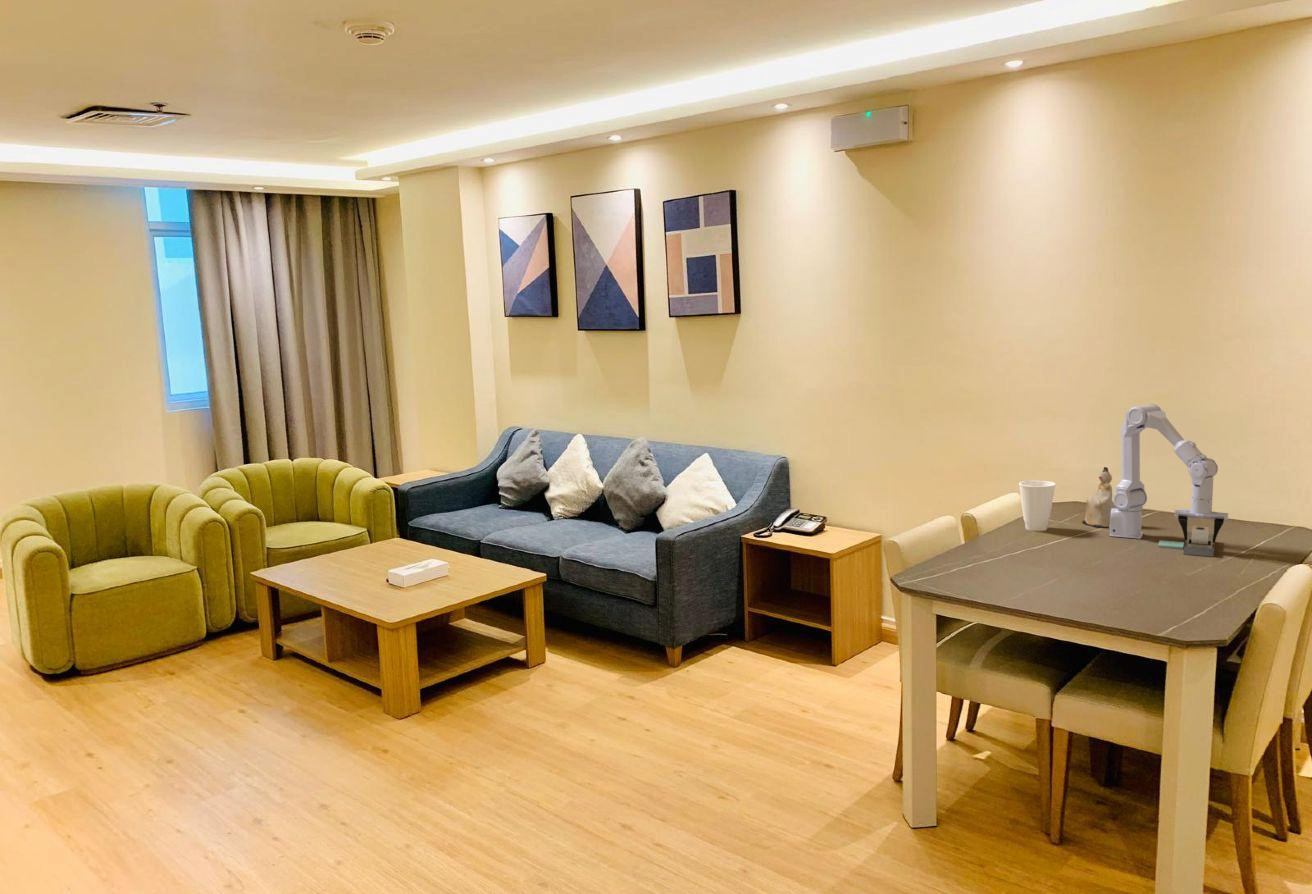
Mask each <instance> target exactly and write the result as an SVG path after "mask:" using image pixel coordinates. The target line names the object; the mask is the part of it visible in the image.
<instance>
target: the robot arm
mask: <svg viewBox="0 0 1312 894" xmlns="http://www.w3.org/2000/svg"><path fill="white" fill-rule="evenodd" d="M1124 416H1125V418H1124V420H1123V423H1122V424H1121V426H1120V427H1121V429H1120V430H1121V431H1120V439H1121V441H1120V444H1121V445H1120V447H1121V449H1120V450H1121V451H1120V453H1121V454H1120V455H1121V456H1120V460H1121V466H1120V467H1121V471H1120V473H1121V475H1120V476H1121V480H1120V482H1118V483H1117V485H1116V486H1115V493H1114V495H1113V497H1112V501H1113V503H1114V505H1115V507H1116V508H1112V509H1111V516H1110V528H1109V536H1110V537H1113V538H1114V537H1116V538H1130V539H1142V538H1143V535H1144V532H1143V531H1142V513H1143V512H1142V511H1143V509H1144V507H1143V506H1144V505H1146V503H1147V501H1148V496H1147V493H1146V492H1147V491H1146V489H1145V484H1144V483H1143V482H1142V481H1141V471H1140V470H1141V466H1140V465H1141V462H1140V457H1141V456H1140V455H1141V449H1140V448H1141V447H1140V445H1141V443H1140V442H1141V441H1140V439H1141V436H1140V434H1141V433H1142V432H1143V431H1145V429H1147V428H1149V429H1154V430H1156V431H1158V432H1159V433H1160V434H1161V435H1162V436H1163V437H1164V438H1165V439H1166V440H1167V441H1168V442H1169V443H1170V444H1172V446H1174V454H1176V456H1178V458H1179V460H1181V461H1182V462H1183V464H1185V466H1186V467H1187V468H1188V475H1189V476H1190V477H1191V499H1190V501H1191V502H1190V509H1175V510H1174V516H1173V517H1174V518H1177V519H1178V523H1179V525H1180V528H1181V531H1182V533H1183V539H1184V542H1185V541H1187V532H1188V518H1190V519H1193V518H1194V519H1206V520H1207V519H1208V520H1214V522H1213V533H1212V534H1213V543H1215V544H1216V540H1217V537H1218V534H1219V531H1220V530H1221V528H1222V526H1223V525H1224V522H1225V521H1226V522H1227V521H1229V513H1227V512H1218V511H1213V495H1214V492H1213V491H1214V476H1216V475H1217V473H1218V472H1219V467H1218V464H1217V463H1216V461H1215V460H1214V459H1212V458H1208V457H1207V455H1206V454H1204V453H1202V451H1201V450H1200V449H1199V448H1198V447H1197V444H1196V443H1195V441H1193V442H1192V440H1188V439H1187V440H1185V438H1184V437H1183V436H1182V435H1181V434H1180V433H1179V431H1178V430H1177V429H1176V427H1174V425H1173V424H1172V423H1171V421H1170V420H1169V419H1168V417H1167V415H1166V412H1165V411H1163V409H1162V408H1161V407H1160V406H1159V405H1157V404H1154V403H1151V404H1147V405H1146V404H1145V405H1139V406H1137V405H1136V406H1132V407H1131V408H1129V409H1128V410H1127V411H1125V415H1124Z"/></svg>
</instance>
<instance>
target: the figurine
mask: <svg viewBox="0 0 1312 894" xmlns="http://www.w3.org/2000/svg"><path fill="white" fill-rule="evenodd" d="M1098 479H1099V481H1100V483H1098V489H1097V491H1095V493H1093V494H1092V495H1090V496H1089V497H1087V499H1086V502H1085V504H1086V508H1085V516H1084V519H1083V521H1082V523H1081V524H1083V525H1085V526H1088V527H1089V526H1090V527H1092V528H1095V529H1110V516H1111V509H1112V508H1117V507H1116V506H1115V504H1114V501H1113V488H1112V485H1111V484H1110V483H1111V482H1112V480H1113V477H1112V475H1111V473H1110V471H1109V468H1108V467H1107V466H1104V467H1103V470H1102V471H1101V473H1100V475H1099V476H1098Z"/></svg>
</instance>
